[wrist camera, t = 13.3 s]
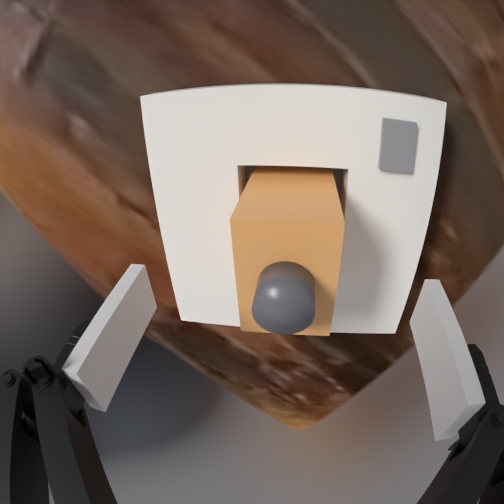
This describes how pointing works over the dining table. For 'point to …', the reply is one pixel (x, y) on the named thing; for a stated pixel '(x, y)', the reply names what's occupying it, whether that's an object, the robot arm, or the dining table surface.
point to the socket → (295, 154)
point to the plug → (287, 250)
